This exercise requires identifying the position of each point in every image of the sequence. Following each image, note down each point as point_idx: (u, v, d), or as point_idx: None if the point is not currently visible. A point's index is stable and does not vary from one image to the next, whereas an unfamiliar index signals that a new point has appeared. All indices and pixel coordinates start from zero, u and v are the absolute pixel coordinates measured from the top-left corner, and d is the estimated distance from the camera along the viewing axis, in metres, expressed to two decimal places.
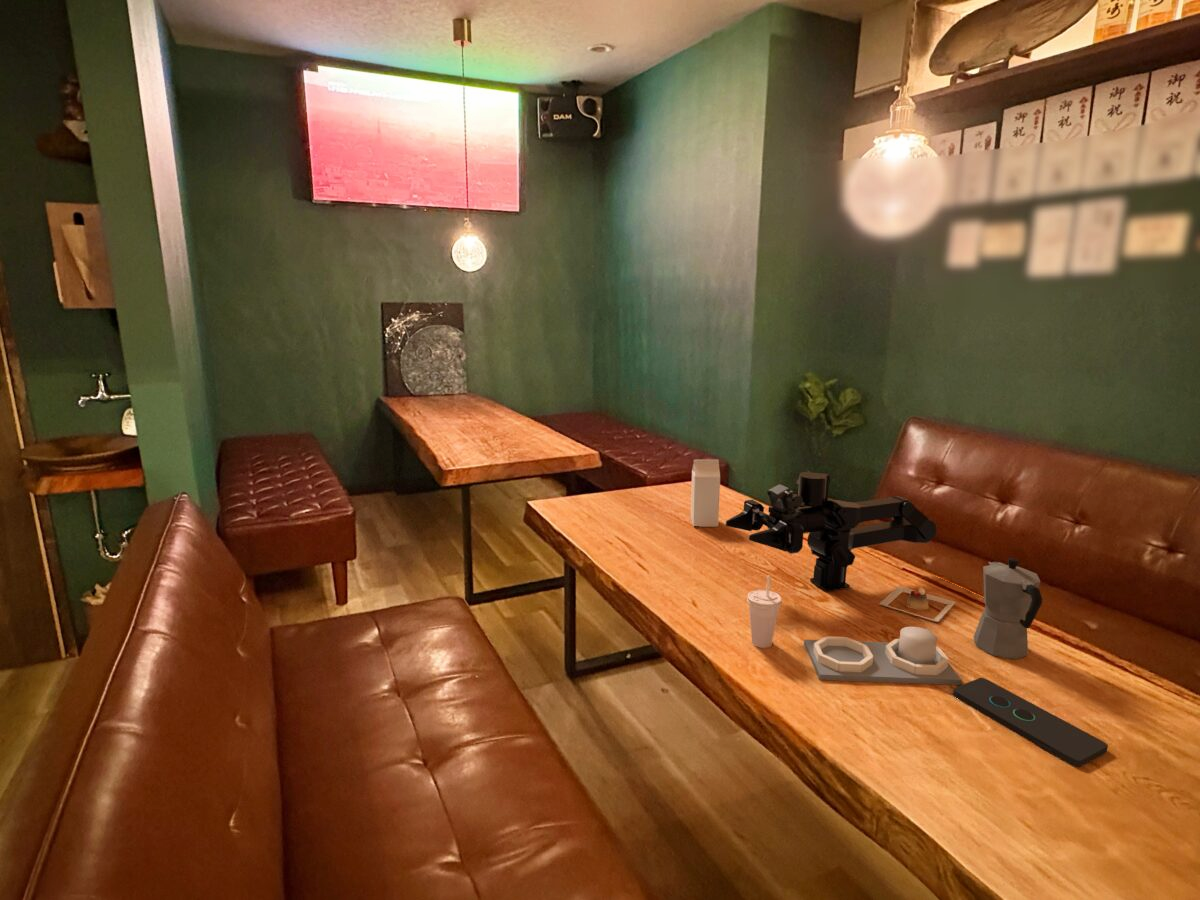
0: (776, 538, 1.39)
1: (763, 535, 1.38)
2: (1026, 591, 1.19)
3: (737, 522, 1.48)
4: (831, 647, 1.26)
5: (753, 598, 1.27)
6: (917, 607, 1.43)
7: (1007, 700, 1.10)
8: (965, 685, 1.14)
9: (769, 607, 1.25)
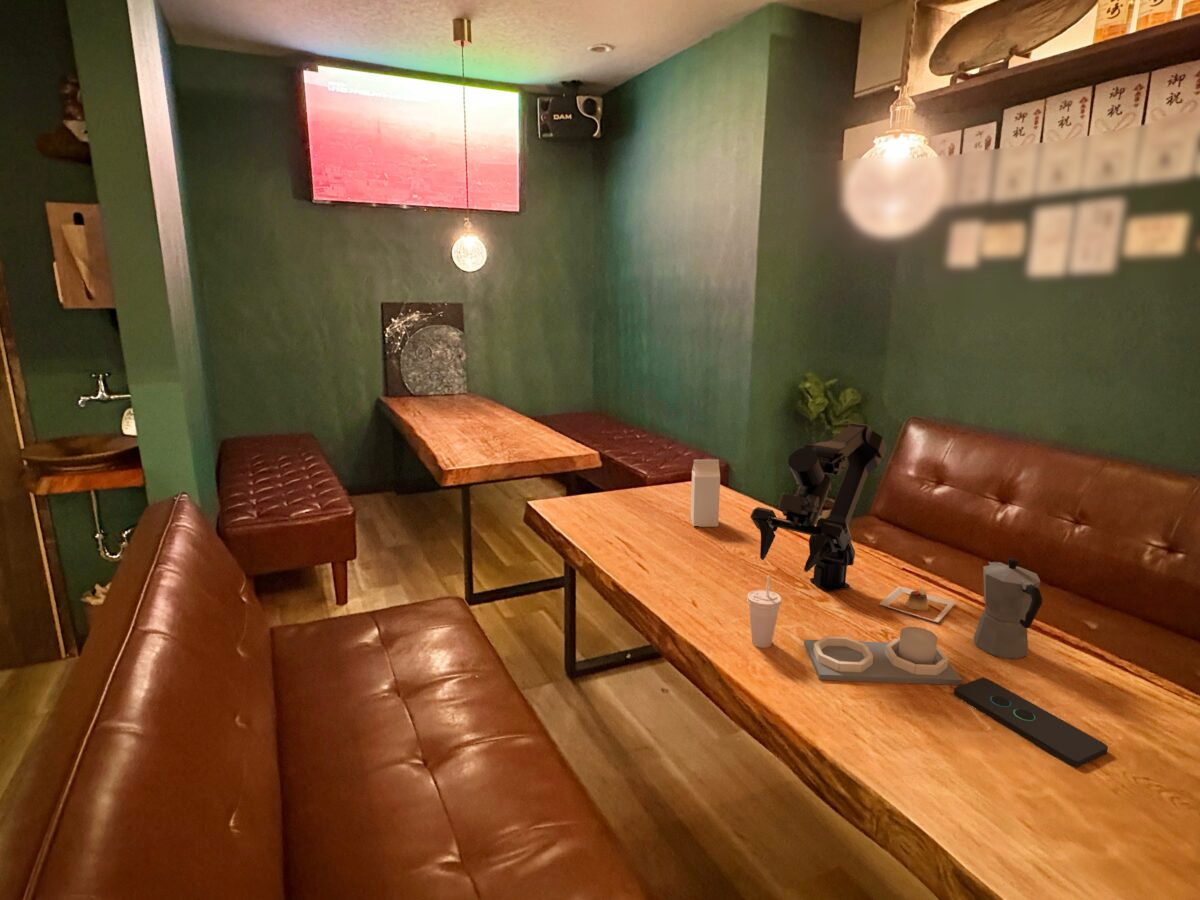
0: (822, 547, 1.31)
1: (814, 559, 1.29)
2: (1026, 591, 1.19)
3: (766, 546, 1.36)
4: (831, 647, 1.26)
5: (753, 598, 1.27)
6: (917, 607, 1.43)
7: (1008, 700, 1.10)
8: (966, 684, 1.14)
9: (769, 607, 1.25)
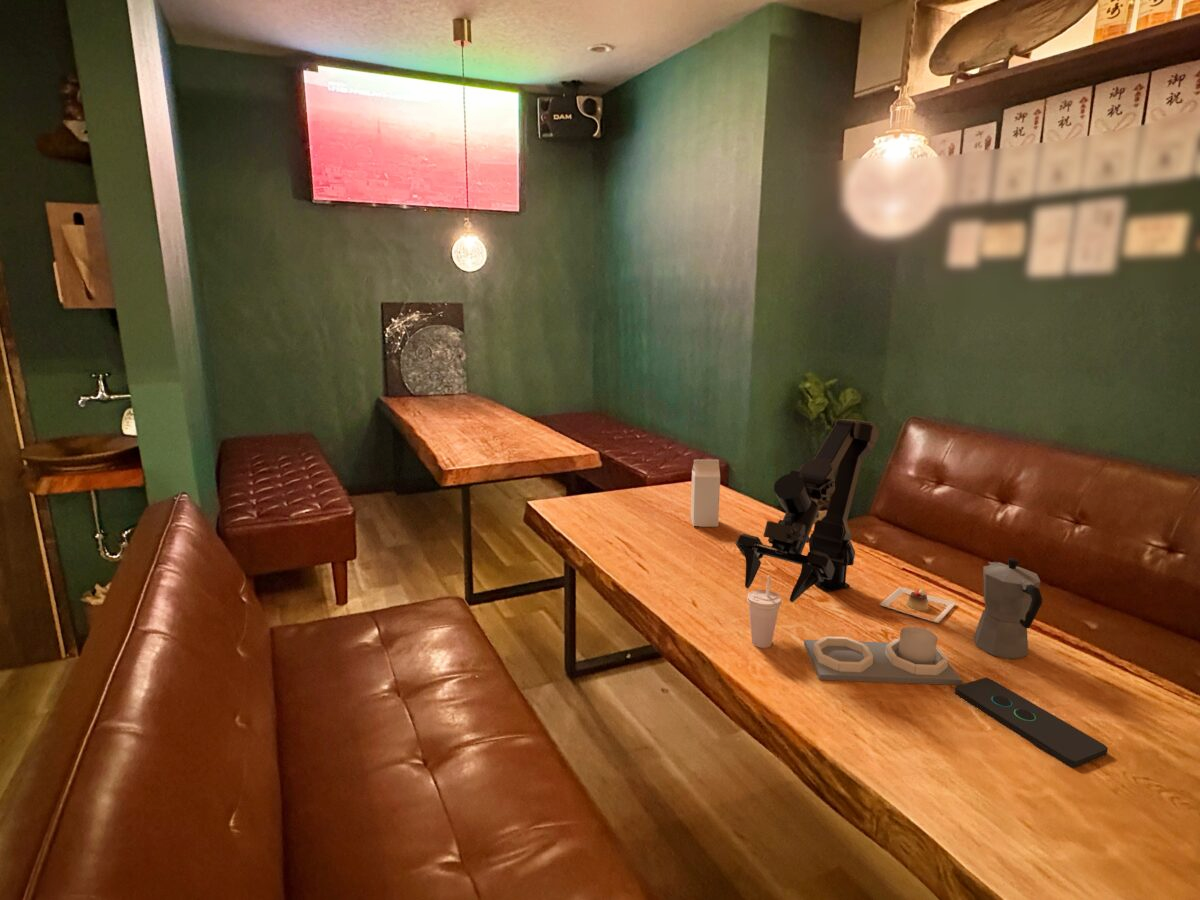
0: (808, 577, 1.27)
1: (800, 589, 1.26)
2: (1026, 591, 1.19)
3: (752, 574, 1.33)
4: (831, 647, 1.26)
5: (753, 598, 1.27)
6: (917, 608, 1.42)
7: (1009, 700, 1.10)
8: (968, 684, 1.14)
9: (769, 607, 1.25)
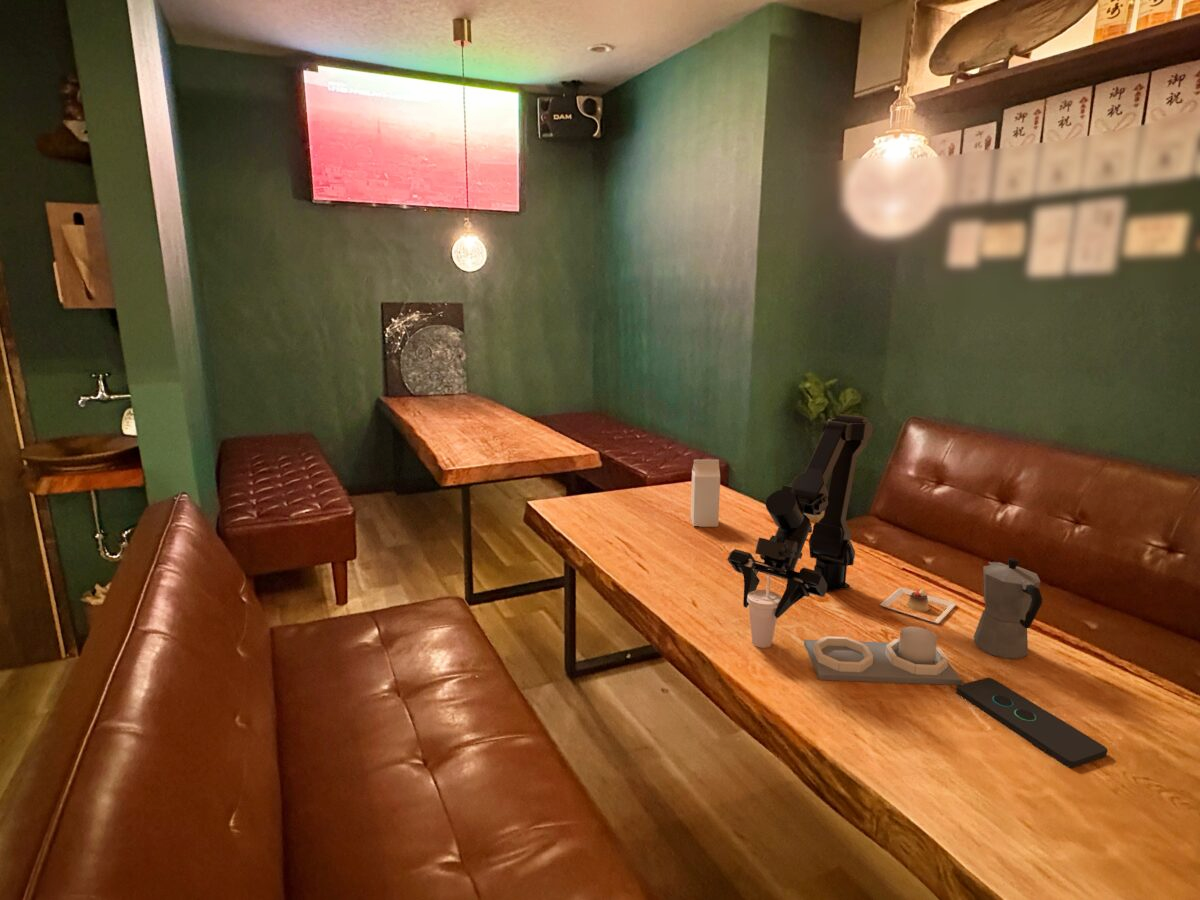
0: (793, 592, 1.27)
1: (785, 604, 1.25)
2: (1026, 591, 1.19)
3: None
4: (831, 647, 1.26)
5: (753, 598, 1.27)
6: (918, 608, 1.42)
7: (1011, 700, 1.10)
8: (970, 683, 1.14)
9: (769, 607, 1.25)
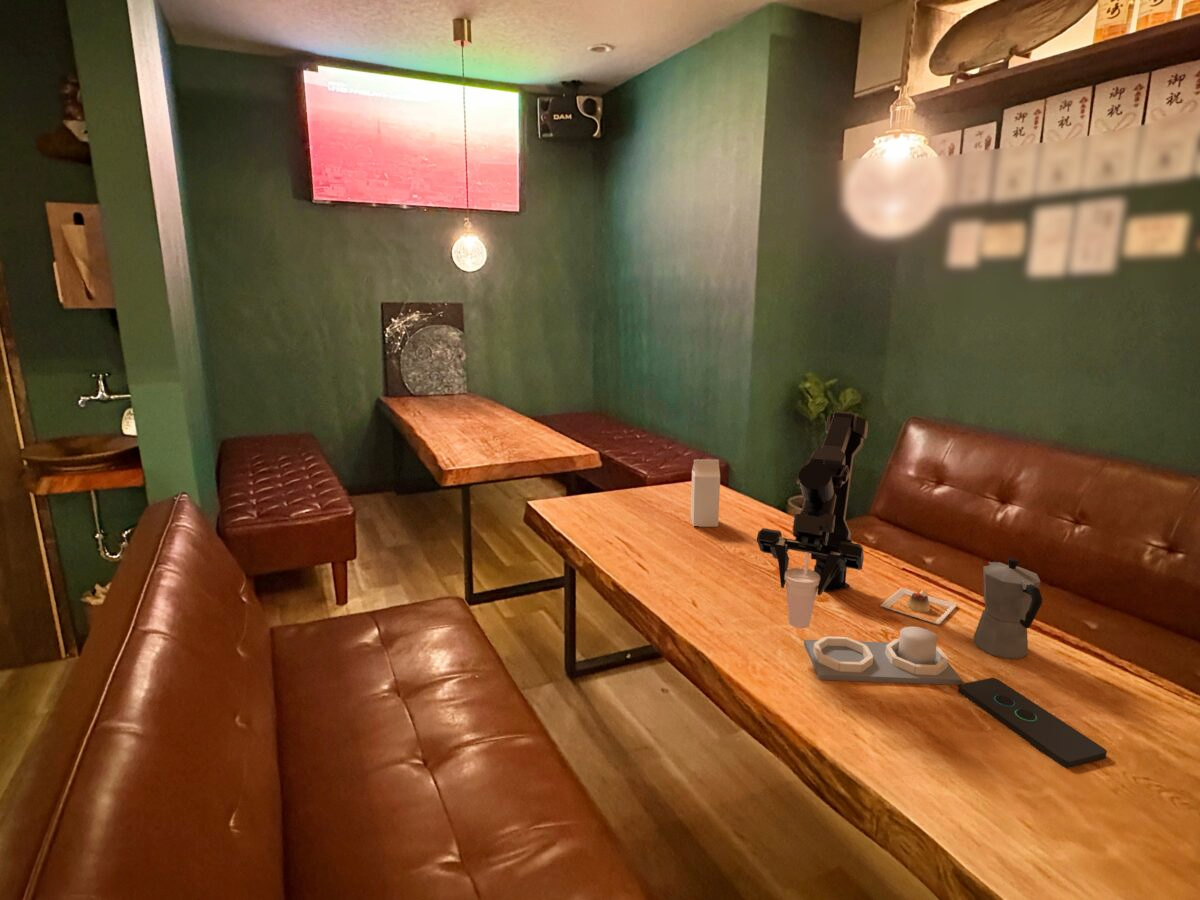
0: None
1: (826, 580, 1.20)
2: (1026, 591, 1.19)
3: None
4: (831, 647, 1.26)
5: (792, 577, 1.21)
6: (918, 609, 1.42)
7: (1013, 700, 1.09)
8: (973, 683, 1.14)
9: (811, 585, 1.20)
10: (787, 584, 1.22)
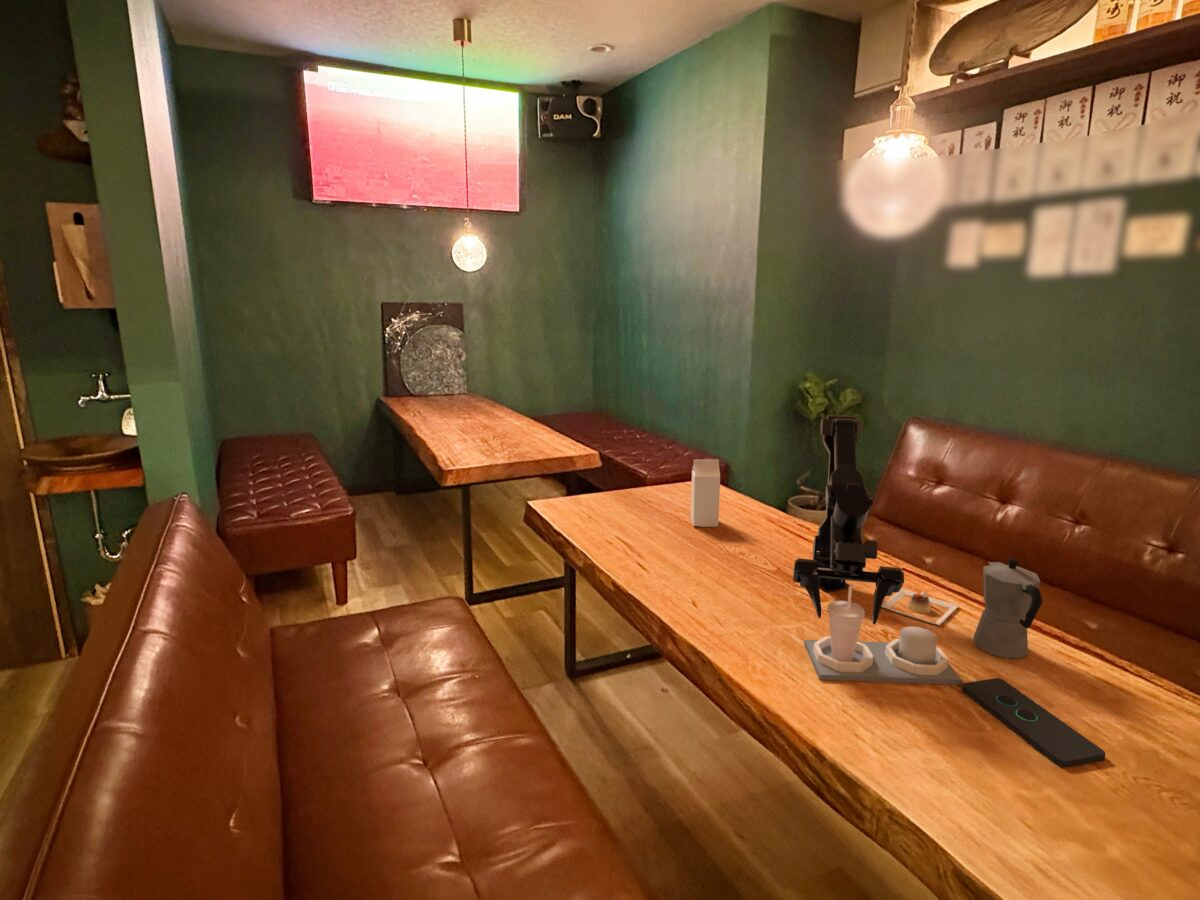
0: None
1: (880, 608, 1.19)
2: (1026, 591, 1.19)
3: None
4: None
5: (838, 612, 1.19)
6: (919, 610, 1.41)
7: (1015, 700, 1.09)
8: (977, 682, 1.15)
9: (859, 619, 1.18)
10: (832, 619, 1.20)
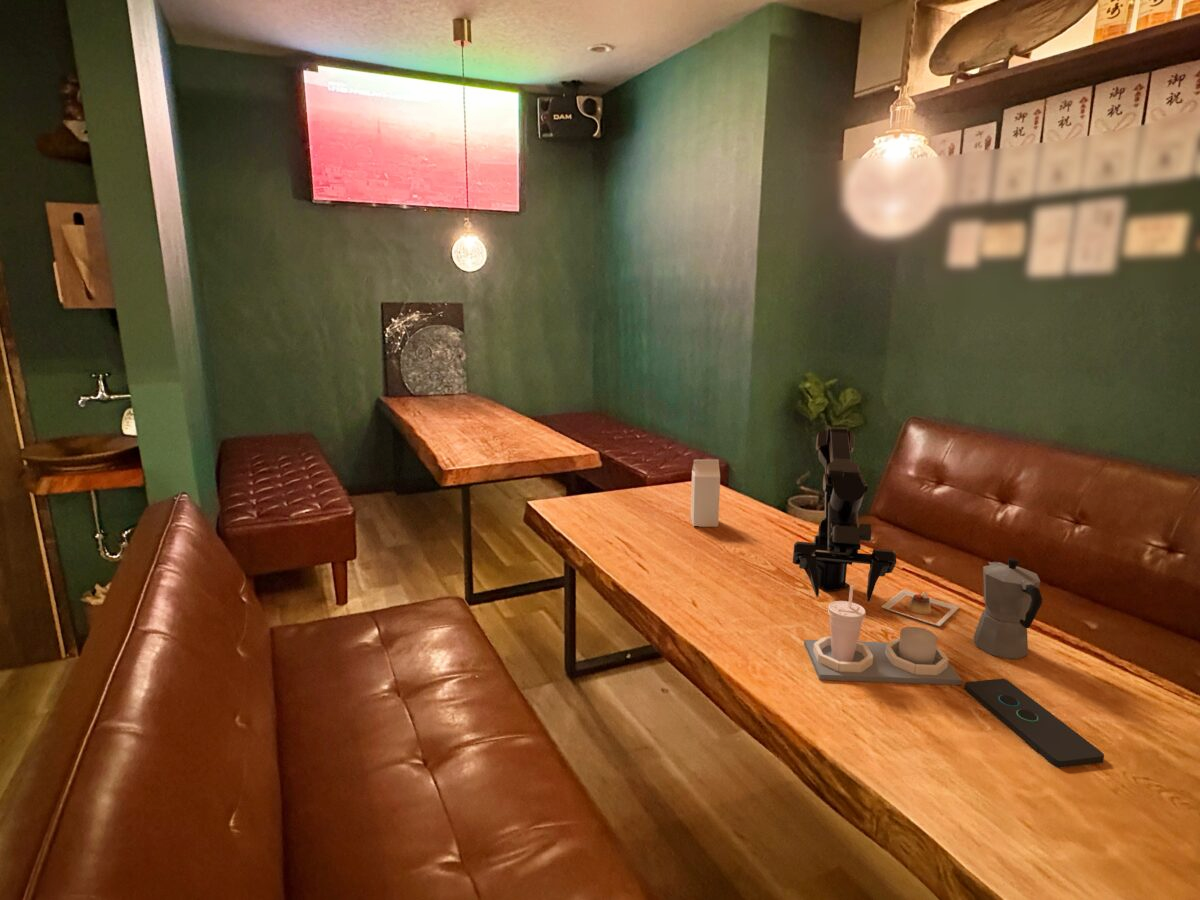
0: None
1: None
2: (1026, 591, 1.19)
3: None
4: None
5: (839, 612, 1.19)
6: (919, 611, 1.41)
7: (1018, 701, 1.09)
8: (980, 682, 1.15)
9: (860, 619, 1.18)
10: (833, 619, 1.20)
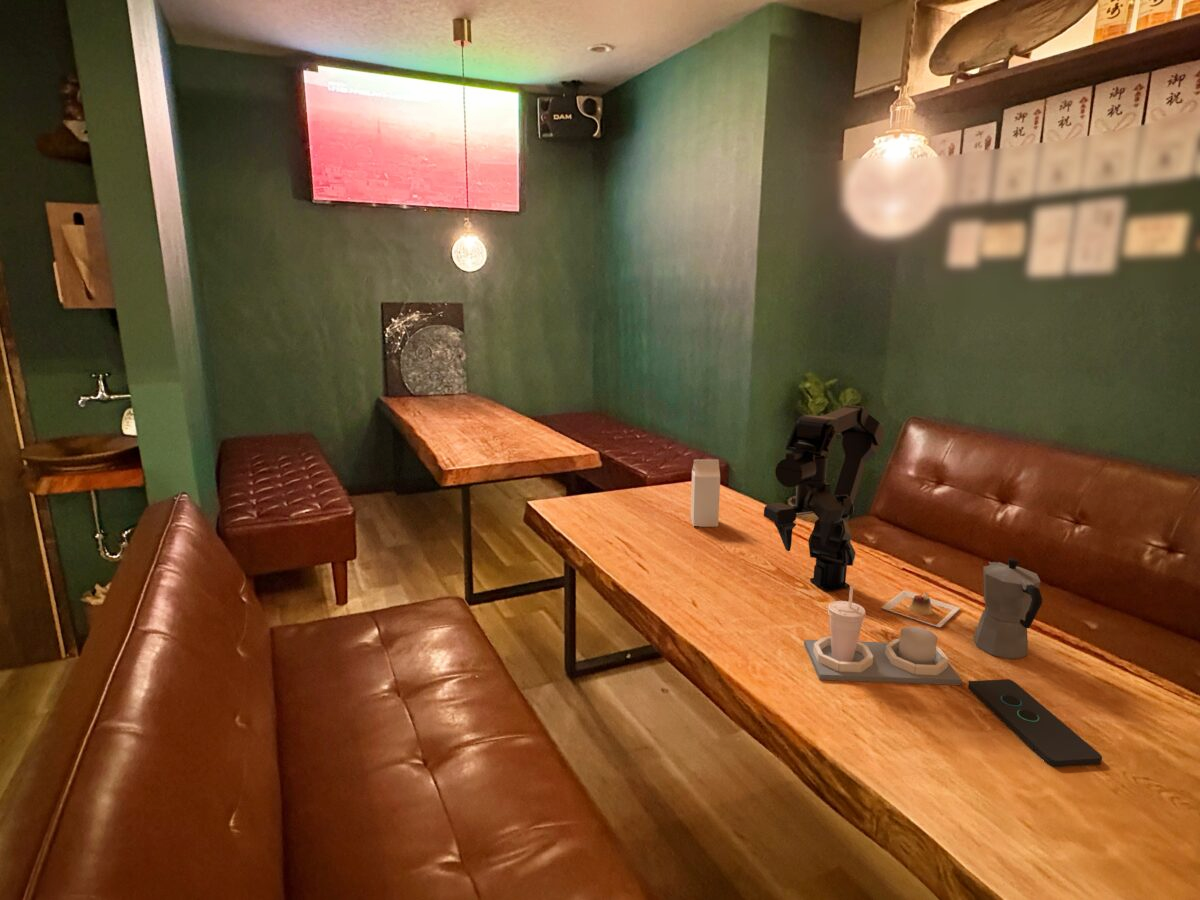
0: None
1: None
2: (1026, 591, 1.19)
3: None
4: None
5: (839, 612, 1.19)
6: (920, 612, 1.41)
7: (1020, 701, 1.09)
8: (985, 681, 1.15)
9: (860, 619, 1.18)
10: (833, 619, 1.20)
